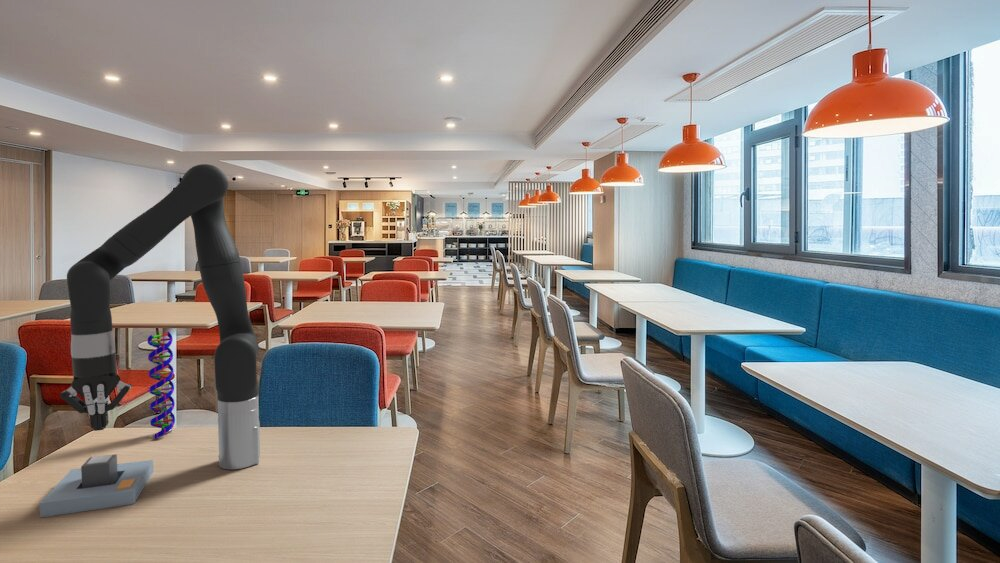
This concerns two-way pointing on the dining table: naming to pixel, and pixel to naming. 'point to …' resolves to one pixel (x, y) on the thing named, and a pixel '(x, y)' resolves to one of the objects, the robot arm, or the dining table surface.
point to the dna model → (161, 383)
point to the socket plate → (97, 490)
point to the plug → (99, 471)
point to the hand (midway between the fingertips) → (99, 429)
